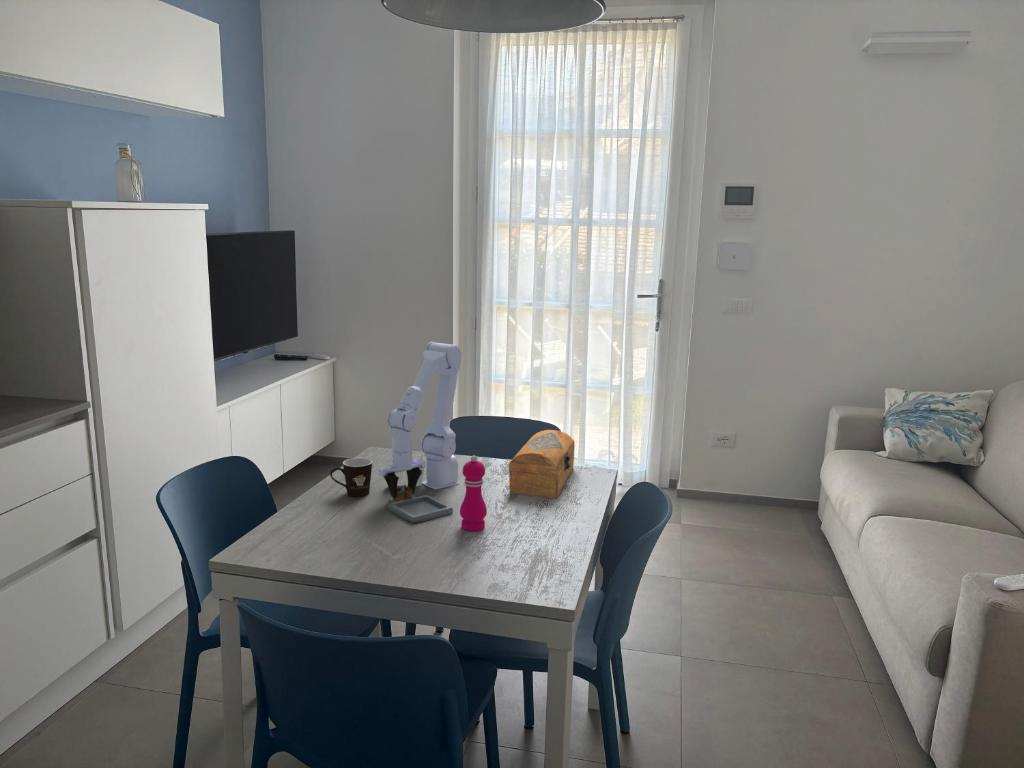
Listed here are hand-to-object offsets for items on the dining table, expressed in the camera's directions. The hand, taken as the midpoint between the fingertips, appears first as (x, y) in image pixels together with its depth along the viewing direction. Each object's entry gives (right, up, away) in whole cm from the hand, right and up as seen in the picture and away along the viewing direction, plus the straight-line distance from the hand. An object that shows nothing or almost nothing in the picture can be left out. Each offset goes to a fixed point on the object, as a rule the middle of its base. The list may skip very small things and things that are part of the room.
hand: (402, 494), depth 231 cm
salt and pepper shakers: (-1, +1, +12) cm, 12 cm away
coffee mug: (-15, -1, +4) cm, 16 cm away
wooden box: (+42, +1, +20) cm, 47 cm away
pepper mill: (+22, -6, -19) cm, 29 cm away
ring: (0, -1, 0) cm, 1 cm away
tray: (+6, -4, -9) cm, 11 cm away
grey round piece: (0, -2, 0) cm, 2 cm away
